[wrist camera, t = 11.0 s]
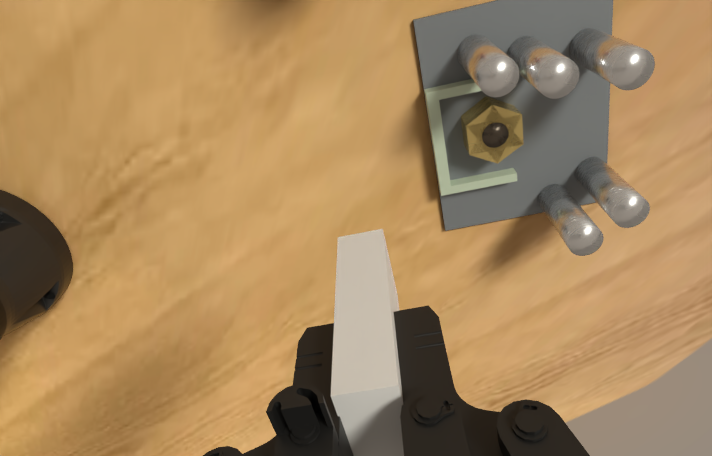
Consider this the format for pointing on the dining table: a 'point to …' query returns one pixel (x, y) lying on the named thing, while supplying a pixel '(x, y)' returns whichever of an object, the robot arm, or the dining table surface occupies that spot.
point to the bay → (440, 150)
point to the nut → (492, 129)
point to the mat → (518, 105)
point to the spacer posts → (555, 81)
